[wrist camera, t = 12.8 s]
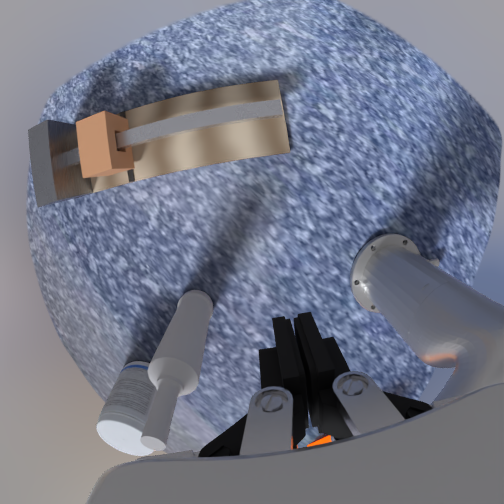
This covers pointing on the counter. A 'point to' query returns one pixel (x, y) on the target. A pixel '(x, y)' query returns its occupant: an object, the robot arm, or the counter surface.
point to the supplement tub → (128, 410)
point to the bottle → (177, 364)
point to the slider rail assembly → (118, 145)
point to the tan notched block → (102, 145)
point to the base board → (202, 134)
